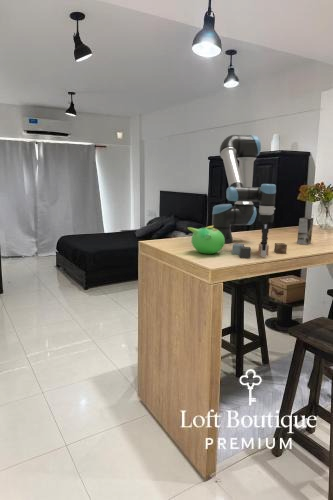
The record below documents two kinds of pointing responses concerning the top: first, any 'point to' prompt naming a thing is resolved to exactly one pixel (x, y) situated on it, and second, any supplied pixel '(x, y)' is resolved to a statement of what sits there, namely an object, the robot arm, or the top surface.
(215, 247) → the toy bird
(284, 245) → the walnut cube
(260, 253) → the terracotta cube
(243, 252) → the black rubber cube
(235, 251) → the slate grey cube
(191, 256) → the top surface
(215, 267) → the top surface
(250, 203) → the robot arm
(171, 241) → the top surface
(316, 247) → the top surface
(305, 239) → the coffee box
